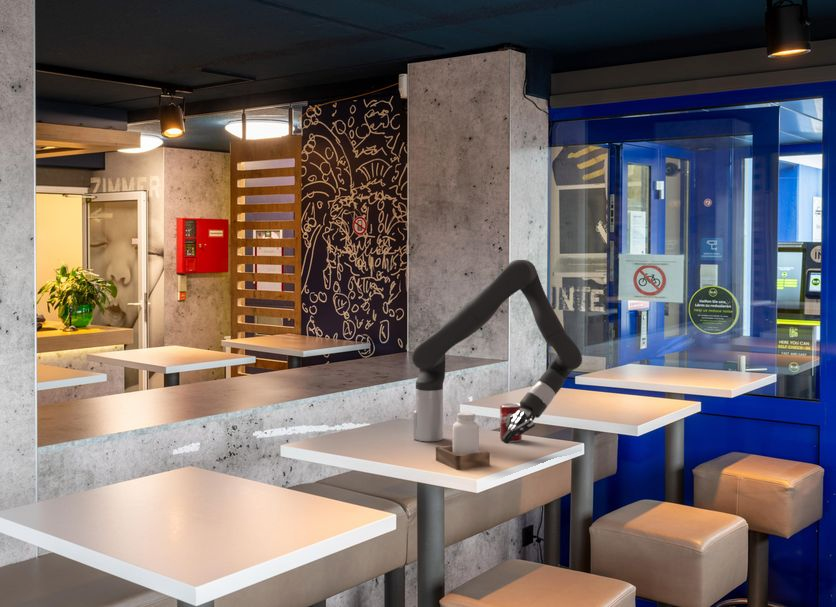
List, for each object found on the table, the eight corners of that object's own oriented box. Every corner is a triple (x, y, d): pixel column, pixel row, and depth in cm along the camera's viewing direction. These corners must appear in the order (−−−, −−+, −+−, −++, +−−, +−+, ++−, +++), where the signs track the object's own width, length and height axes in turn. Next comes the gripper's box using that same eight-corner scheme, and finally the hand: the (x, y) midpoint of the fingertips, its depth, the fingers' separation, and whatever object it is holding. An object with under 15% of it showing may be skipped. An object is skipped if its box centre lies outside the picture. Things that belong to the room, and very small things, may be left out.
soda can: (521, 438, 310) (521, 403, 309) (521, 442, 303) (522, 407, 302) (500, 438, 311) (500, 403, 310) (499, 442, 303) (500, 406, 303)
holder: (467, 456, 283) (467, 443, 283) (489, 465, 271) (489, 452, 271) (435, 460, 278) (435, 447, 278) (456, 469, 266) (456, 456, 266)
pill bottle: (482, 460, 277) (482, 412, 276) (474, 466, 270) (474, 416, 269) (457, 458, 280) (457, 410, 279) (448, 464, 273) (448, 414, 272)
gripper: (519, 388, 290) (486, 430, 285) (542, 394, 278) (508, 438, 273) (533, 403, 292) (500, 445, 288) (556, 410, 281) (523, 453, 276)
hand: (504, 441), depth 281 cm, fingers closed
